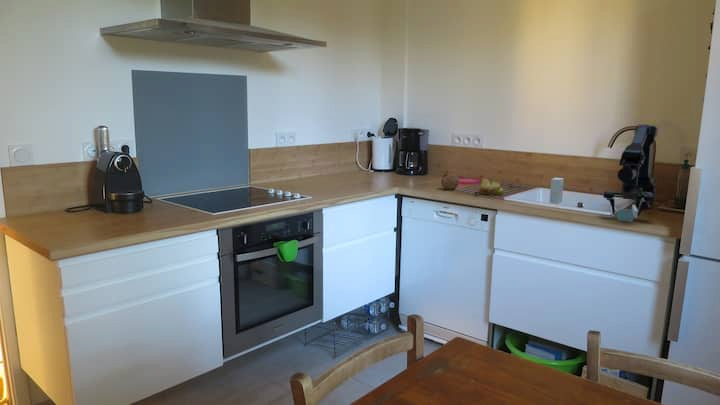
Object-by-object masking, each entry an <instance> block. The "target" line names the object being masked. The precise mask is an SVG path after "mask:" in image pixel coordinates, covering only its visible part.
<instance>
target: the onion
mask: <svg viewBox="0 0 720 405" xmlns="http://www.w3.org/2000/svg"><path fill="white" fill-rule="evenodd" d="M440 183H441V186H442V188H443V189H444V190H446V191H454V190H455V189H456V188H457V187H458V185H459V177H458V176H457V175H456V174H453V173H445V174H443V176H442V177H441V181H440Z"/></svg>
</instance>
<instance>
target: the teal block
mask: <svg viewBox="0 0 720 405" xmlns="http://www.w3.org/2000/svg"><path fill="white" fill-rule="evenodd" d="M633 215H634V212H633V210H632V209H627V208H626V209H624V208H618V212H617V221H618V222H628V223H629V222H630V223H633V220H634V216H633Z"/></svg>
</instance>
